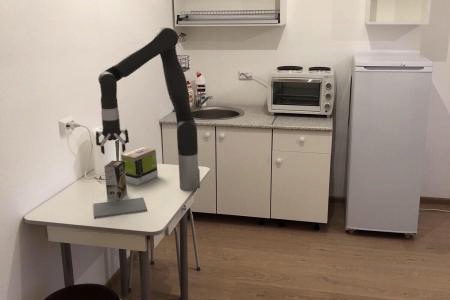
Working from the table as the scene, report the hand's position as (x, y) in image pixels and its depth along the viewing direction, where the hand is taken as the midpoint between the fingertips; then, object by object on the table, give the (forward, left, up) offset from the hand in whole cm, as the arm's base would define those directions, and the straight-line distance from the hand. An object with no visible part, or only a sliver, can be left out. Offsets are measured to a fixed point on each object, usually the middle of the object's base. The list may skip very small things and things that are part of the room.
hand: (113, 152), depth 218 cm
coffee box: (0, 0, -21) cm, 21 cm away
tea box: (-13, -19, -21) cm, 31 cm away
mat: (0, +14, -21) cm, 25 cm away
